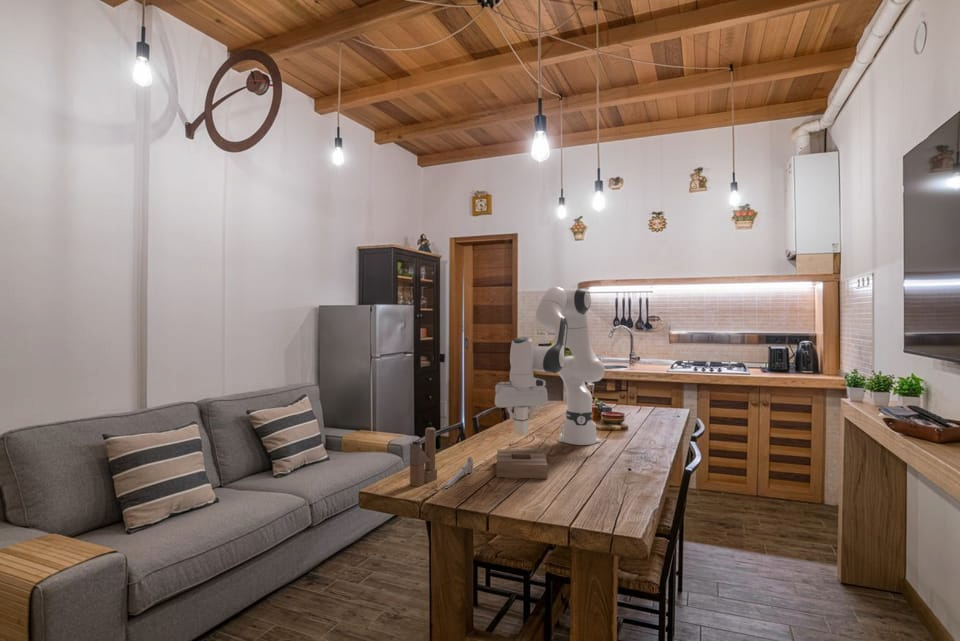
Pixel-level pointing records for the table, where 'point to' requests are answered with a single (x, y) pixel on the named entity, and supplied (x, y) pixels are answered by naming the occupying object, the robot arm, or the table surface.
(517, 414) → the square peg
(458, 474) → the caliper
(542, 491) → the table surface
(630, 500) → the table surface
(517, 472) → the socket block
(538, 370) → the robot arm
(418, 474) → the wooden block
